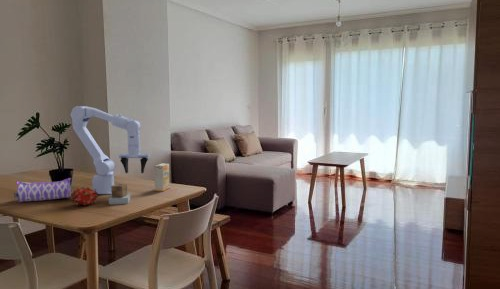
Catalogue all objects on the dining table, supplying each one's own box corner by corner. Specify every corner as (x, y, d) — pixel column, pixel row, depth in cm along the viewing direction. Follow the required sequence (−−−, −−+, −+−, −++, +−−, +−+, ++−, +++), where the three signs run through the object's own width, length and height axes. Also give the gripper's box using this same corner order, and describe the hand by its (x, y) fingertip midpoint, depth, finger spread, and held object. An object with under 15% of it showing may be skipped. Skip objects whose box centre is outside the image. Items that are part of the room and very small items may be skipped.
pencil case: (14, 204, 160) (13, 183, 159) (18, 199, 168) (17, 179, 167) (71, 200, 168) (70, 179, 167) (72, 195, 176) (71, 176, 175)
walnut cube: (111, 197, 163) (111, 186, 162) (116, 194, 168) (116, 183, 167) (122, 197, 163) (122, 186, 162) (127, 194, 168) (126, 184, 167)
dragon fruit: (67, 210, 157) (96, 209, 164) (74, 202, 151) (103, 201, 159) (66, 192, 160) (94, 192, 168) (72, 183, 155) (101, 183, 163)
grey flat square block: (108, 205, 161) (108, 198, 160) (111, 200, 169) (111, 194, 168) (128, 204, 162) (127, 198, 162) (130, 200, 170) (130, 193, 170)
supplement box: (163, 191, 185) (163, 165, 184) (154, 191, 186) (154, 165, 185) (170, 188, 193) (169, 163, 192) (161, 187, 194) (161, 162, 193)
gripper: (116, 146, 176) (117, 174, 177) (146, 146, 176) (147, 174, 178) (121, 144, 183) (121, 171, 184) (150, 144, 183) (151, 171, 185)
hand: (134, 172), depth 181 cm, fingers open, 7 cm apart
